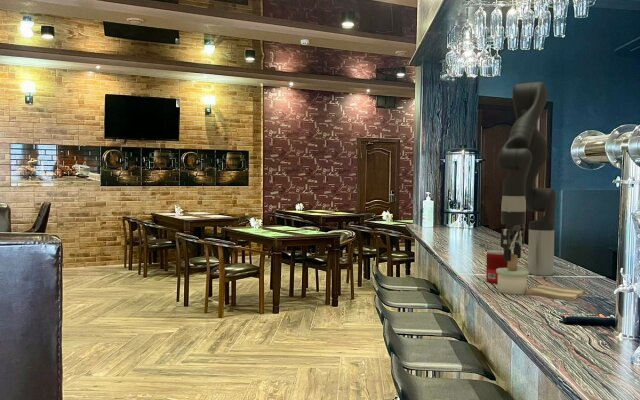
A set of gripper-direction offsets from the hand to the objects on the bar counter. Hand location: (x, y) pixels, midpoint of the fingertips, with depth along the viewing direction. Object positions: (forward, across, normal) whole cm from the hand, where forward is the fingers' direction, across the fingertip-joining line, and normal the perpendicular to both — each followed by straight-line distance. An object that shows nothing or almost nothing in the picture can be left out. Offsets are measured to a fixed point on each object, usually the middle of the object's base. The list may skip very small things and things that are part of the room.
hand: (512, 259), depth 180 cm
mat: (+10, -6, +12) cm, 17 cm away
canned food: (+11, -13, -10) cm, 20 cm away
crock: (+10, 0, 0) cm, 11 cm away
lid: (+4, 0, 0) cm, 5 cm away
